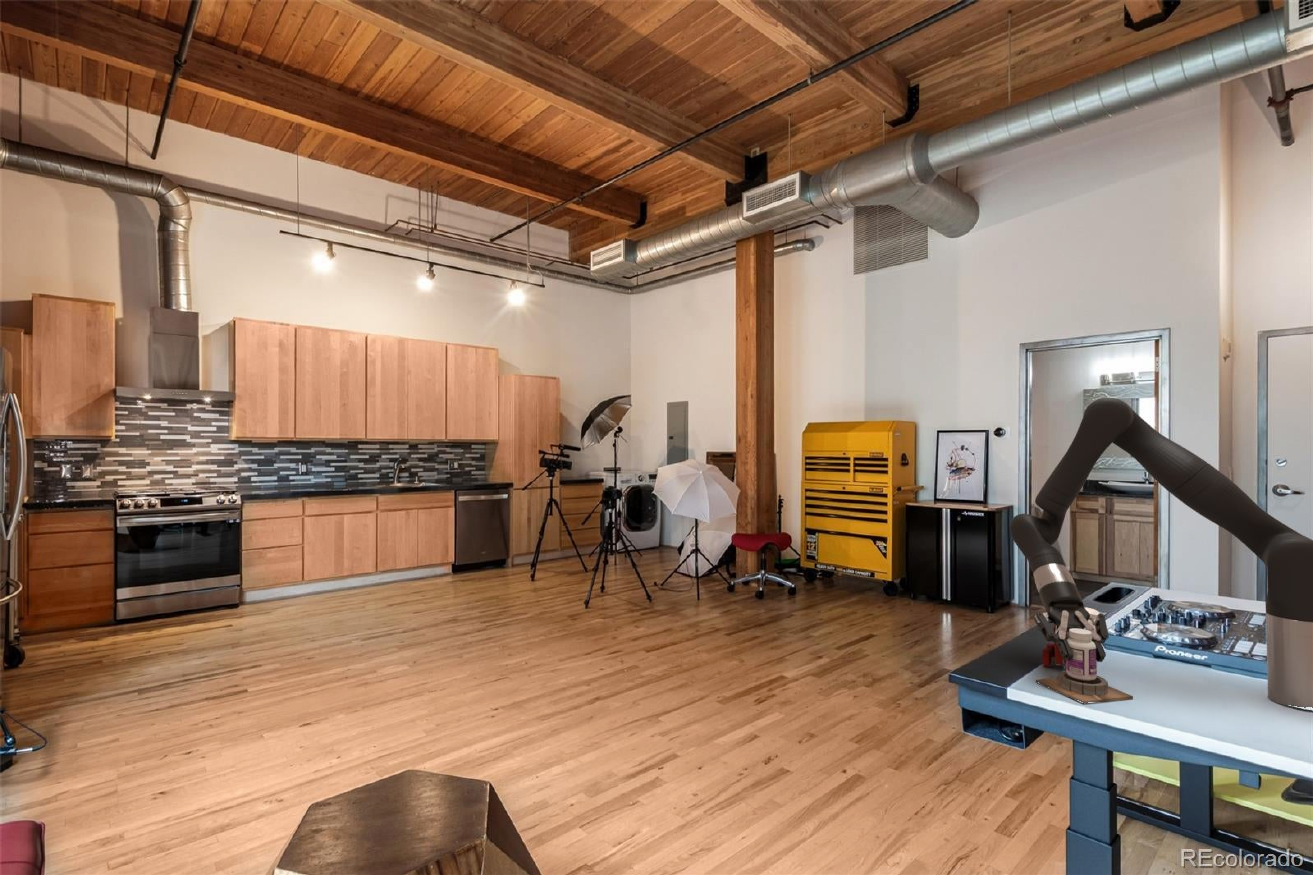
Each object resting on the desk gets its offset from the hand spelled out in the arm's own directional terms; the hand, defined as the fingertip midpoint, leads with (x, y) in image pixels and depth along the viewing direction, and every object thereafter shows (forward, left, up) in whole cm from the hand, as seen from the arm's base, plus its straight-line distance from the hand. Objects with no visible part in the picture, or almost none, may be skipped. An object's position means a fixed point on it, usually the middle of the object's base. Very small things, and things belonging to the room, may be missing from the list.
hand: (1085, 659), depth 130 cm
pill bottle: (-1, -2, -4) cm, 5 cm away
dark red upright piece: (-9, -15, -7) cm, 19 cm away
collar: (-1, -1, -7) cm, 7 cm away
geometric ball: (-35, -32, -7) cm, 48 cm away
